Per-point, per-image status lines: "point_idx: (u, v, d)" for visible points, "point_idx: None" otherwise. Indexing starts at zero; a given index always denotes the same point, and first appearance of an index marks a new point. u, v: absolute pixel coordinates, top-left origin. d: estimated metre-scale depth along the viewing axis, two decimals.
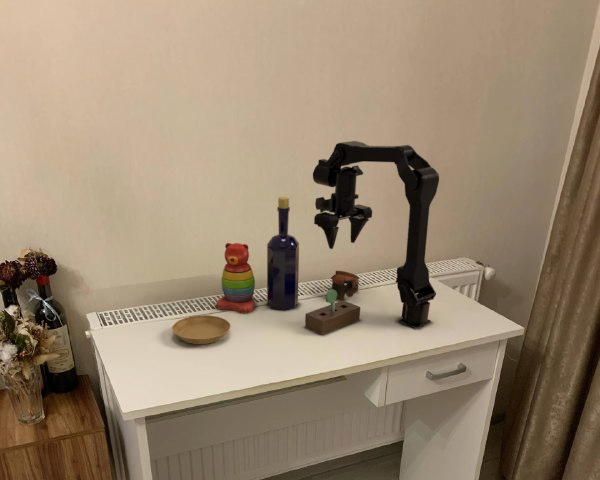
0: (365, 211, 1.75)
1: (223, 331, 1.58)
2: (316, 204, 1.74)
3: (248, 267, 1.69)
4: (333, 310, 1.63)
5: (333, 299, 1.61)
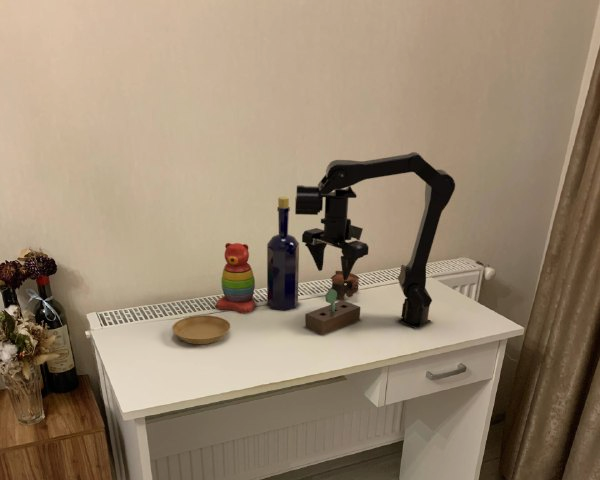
0: (344, 247, 1.50)
1: (223, 331, 1.58)
2: None
3: (248, 267, 1.69)
4: (333, 310, 1.63)
5: (333, 299, 1.61)
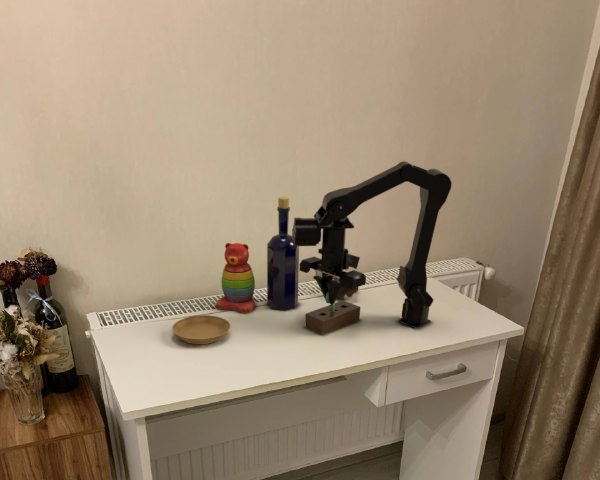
0: (341, 277, 1.51)
1: (223, 331, 1.58)
2: None
3: (248, 267, 1.69)
4: (333, 310, 1.63)
5: None
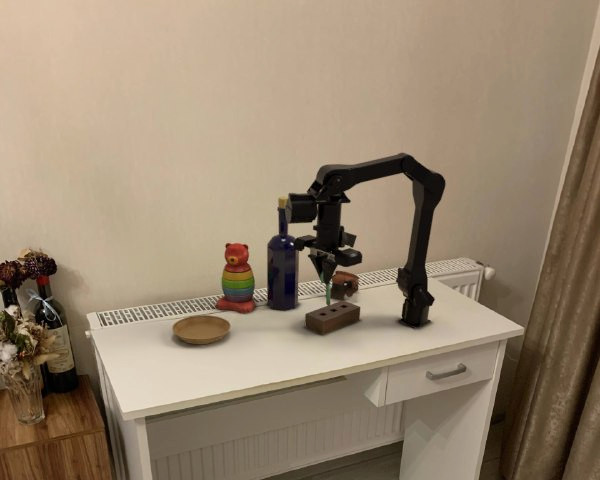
0: (337, 255, 1.44)
1: (223, 331, 1.58)
2: None
3: (248, 267, 1.69)
4: (328, 291, 1.56)
5: None
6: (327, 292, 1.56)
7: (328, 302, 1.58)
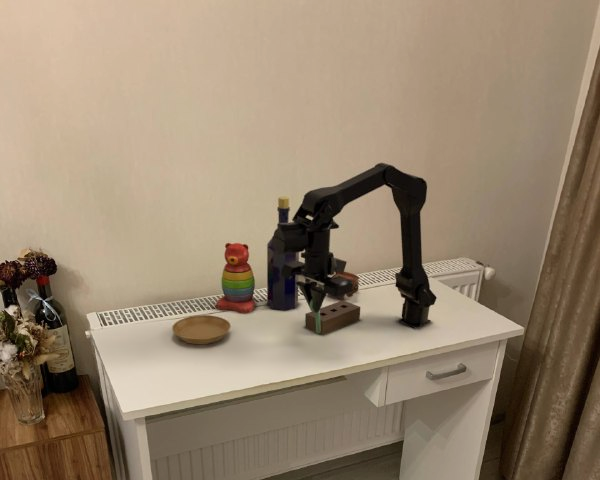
0: (326, 284, 1.39)
1: (223, 331, 1.58)
2: None
3: (248, 267, 1.69)
4: (318, 318, 1.51)
5: None
6: (317, 320, 1.51)
7: (318, 330, 1.52)
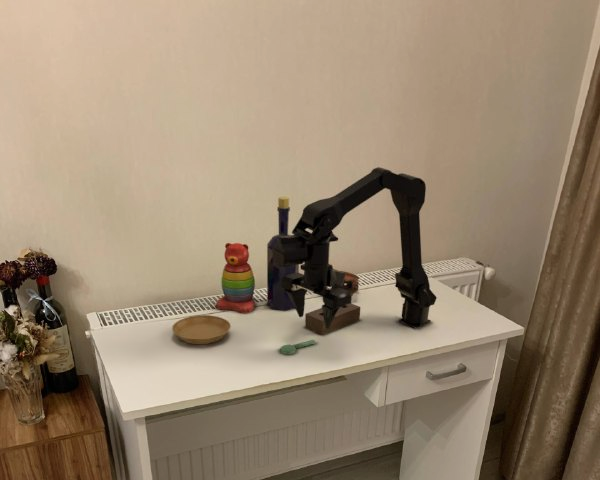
0: (325, 296, 1.40)
1: (223, 331, 1.58)
2: None
3: (248, 267, 1.69)
4: (301, 343, 1.52)
5: (290, 346, 1.51)
6: (303, 344, 1.53)
7: (312, 341, 1.54)
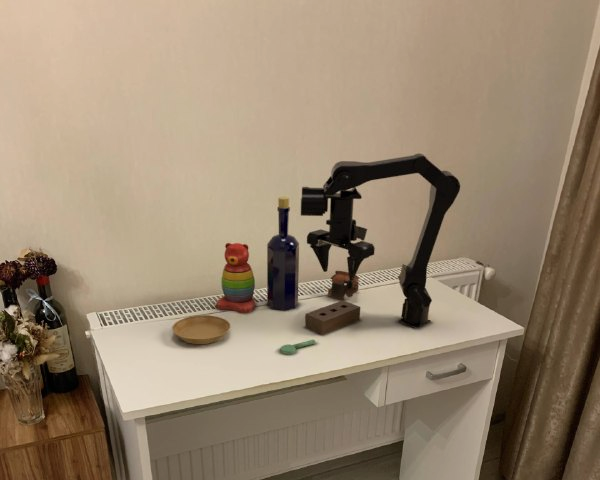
0: (350, 248, 1.51)
1: (223, 331, 1.58)
2: None
3: (248, 267, 1.69)
4: (301, 343, 1.52)
5: (290, 346, 1.51)
6: (303, 344, 1.53)
7: (312, 341, 1.54)
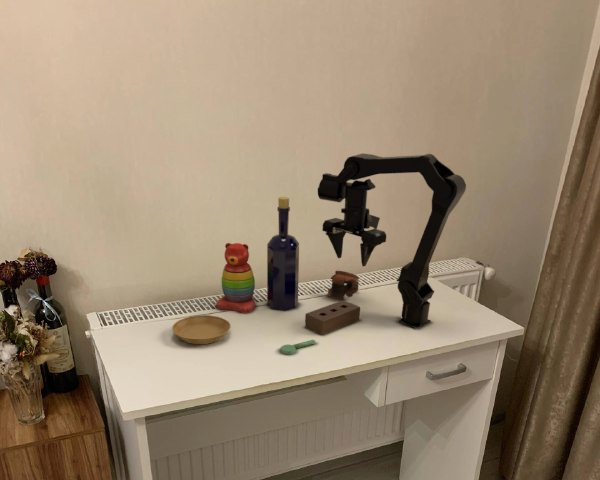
0: (363, 235, 1.60)
1: (223, 331, 1.58)
2: None
3: (248, 267, 1.69)
4: (301, 343, 1.52)
5: (290, 346, 1.51)
6: (303, 344, 1.53)
7: (312, 341, 1.54)
